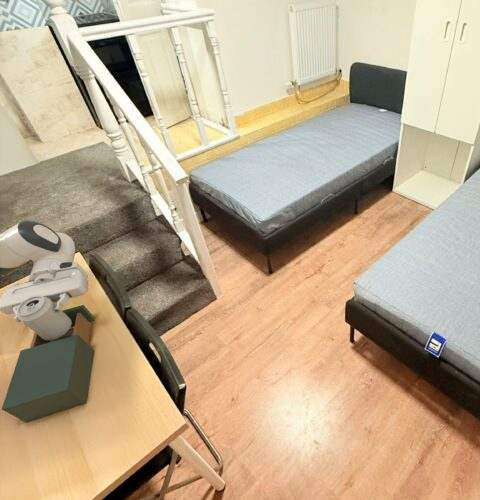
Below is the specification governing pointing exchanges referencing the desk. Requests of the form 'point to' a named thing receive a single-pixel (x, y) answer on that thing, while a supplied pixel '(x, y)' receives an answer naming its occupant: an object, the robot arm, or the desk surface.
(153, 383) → the desk surface
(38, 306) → the can
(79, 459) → the desk surface
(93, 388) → the desk surface
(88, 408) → the desk surface
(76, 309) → the drawer
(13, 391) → the cabinet
